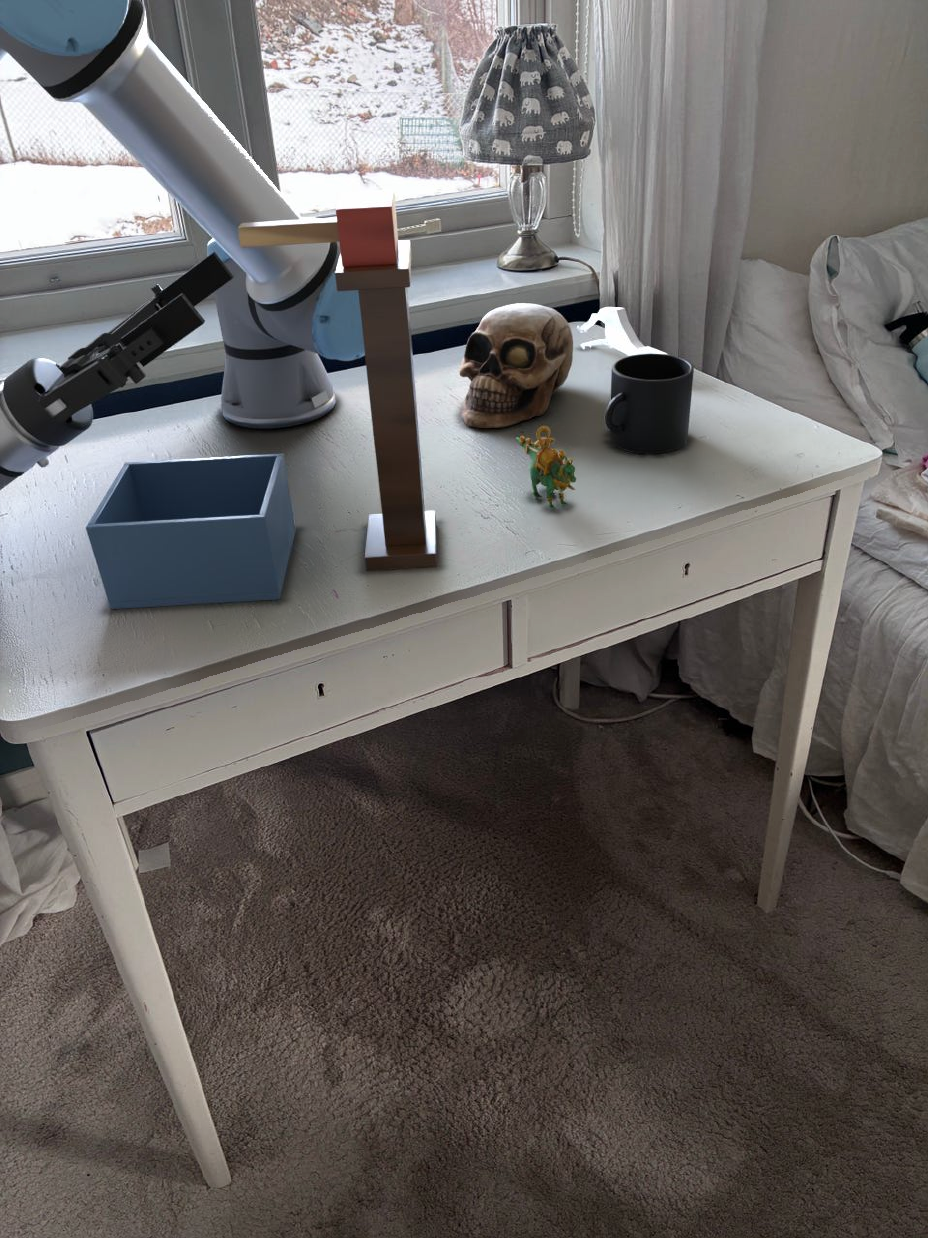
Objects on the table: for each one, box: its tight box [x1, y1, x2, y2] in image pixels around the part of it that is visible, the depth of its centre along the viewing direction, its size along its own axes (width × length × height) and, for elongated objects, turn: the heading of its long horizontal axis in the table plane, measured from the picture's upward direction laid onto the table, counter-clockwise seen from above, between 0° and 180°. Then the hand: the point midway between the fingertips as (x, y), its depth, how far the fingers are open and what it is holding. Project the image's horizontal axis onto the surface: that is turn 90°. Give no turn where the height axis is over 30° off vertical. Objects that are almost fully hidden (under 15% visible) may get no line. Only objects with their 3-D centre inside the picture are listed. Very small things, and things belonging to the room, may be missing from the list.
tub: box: [85, 452, 296, 610], centre depth 93 cm, size 14×16×9 cm
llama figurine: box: [576, 306, 669, 356], centre depth 137 cm, size 2×11×18 cm
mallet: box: [238, 189, 399, 267], centre depth 80 cm, size 7×13×4 cm, turn 92°
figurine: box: [516, 425, 577, 510], centre depth 103 cm, size 3×12×8 cm, turn 27°
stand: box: [335, 239, 438, 571], centre depth 89 cm, size 10×7×28 cm
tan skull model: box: [458, 302, 574, 429], centre depth 125 cm, size 16×17×13 cm
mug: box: [604, 353, 695, 455], centre depth 113 cm, size 9×12×9 cm
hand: (209, 284), depth 82 cm, fingers open, 13 cm apart
